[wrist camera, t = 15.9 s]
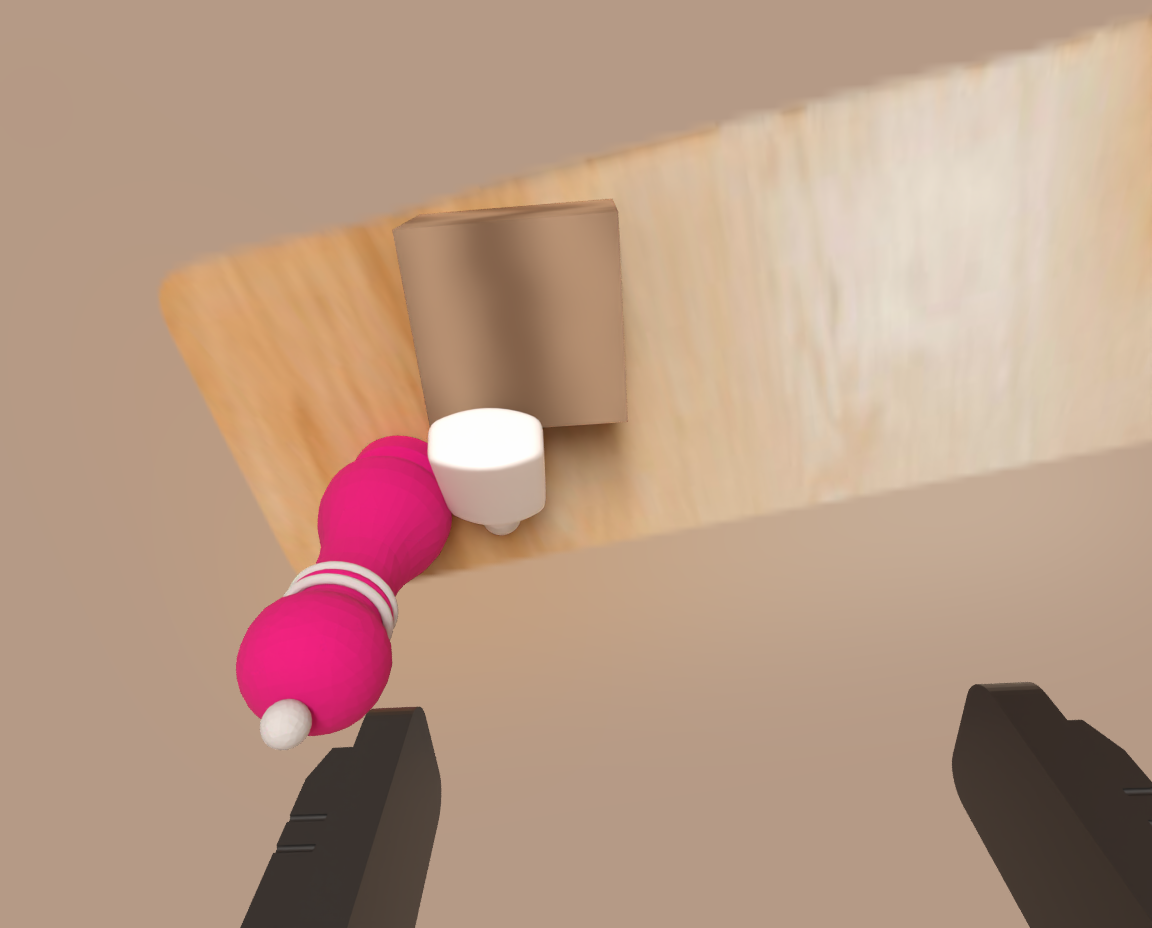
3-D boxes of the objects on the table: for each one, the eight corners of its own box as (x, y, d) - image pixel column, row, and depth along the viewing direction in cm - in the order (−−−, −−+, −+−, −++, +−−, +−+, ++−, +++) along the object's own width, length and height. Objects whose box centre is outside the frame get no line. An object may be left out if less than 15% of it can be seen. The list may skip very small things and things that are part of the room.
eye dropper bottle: (512, 377, 34) (523, 477, 44) (410, 430, 32) (448, 520, 43) (558, 443, 32) (559, 530, 43) (454, 501, 31) (481, 576, 42)
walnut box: (612, 198, 35) (618, 211, 29) (621, 381, 39) (627, 421, 34) (420, 213, 35) (392, 230, 30) (451, 393, 40) (431, 435, 34)
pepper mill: (468, 527, 43) (393, 808, 26) (357, 530, 44) (205, 812, 26) (455, 425, 40) (359, 664, 22) (335, 428, 40) (144, 669, 22)
